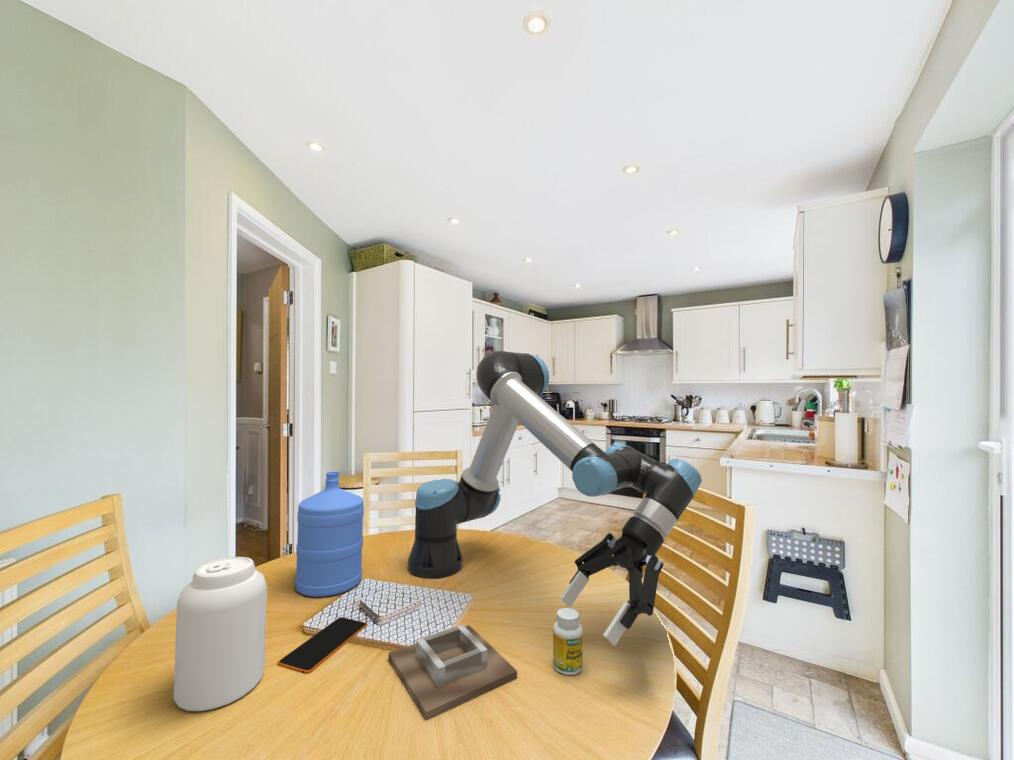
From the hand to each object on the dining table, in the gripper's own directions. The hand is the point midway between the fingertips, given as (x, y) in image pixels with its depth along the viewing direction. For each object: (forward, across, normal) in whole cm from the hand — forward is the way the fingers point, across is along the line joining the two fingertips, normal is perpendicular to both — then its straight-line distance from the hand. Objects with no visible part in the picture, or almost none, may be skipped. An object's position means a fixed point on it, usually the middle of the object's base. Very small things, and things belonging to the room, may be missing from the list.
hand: (585, 620), depth 77 cm
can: (+47, +20, +36) cm, 63 cm away
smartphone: (+36, +26, +24) cm, 51 cm away
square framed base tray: (+22, +9, +10) cm, 26 cm away
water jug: (+35, +52, +23) cm, 67 cm away
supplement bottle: (+8, +1, -4) cm, 9 cm away
